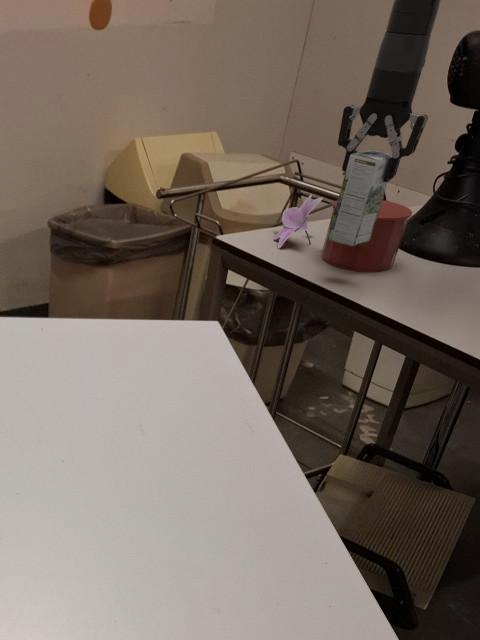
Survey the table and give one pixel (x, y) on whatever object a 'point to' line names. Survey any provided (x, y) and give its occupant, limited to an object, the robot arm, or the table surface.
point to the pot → (367, 248)
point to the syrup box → (359, 198)
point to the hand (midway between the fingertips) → (366, 177)
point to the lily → (296, 220)
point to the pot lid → (389, 211)
